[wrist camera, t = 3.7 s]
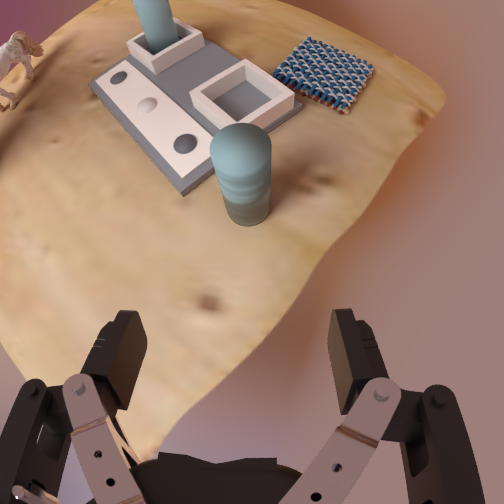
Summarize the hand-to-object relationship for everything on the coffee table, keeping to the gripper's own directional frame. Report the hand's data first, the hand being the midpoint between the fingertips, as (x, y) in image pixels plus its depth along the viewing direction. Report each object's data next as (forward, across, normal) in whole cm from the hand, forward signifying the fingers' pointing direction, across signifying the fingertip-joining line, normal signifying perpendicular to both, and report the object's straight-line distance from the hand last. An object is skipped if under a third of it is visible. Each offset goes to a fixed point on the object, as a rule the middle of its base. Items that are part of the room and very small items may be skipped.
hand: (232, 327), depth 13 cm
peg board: (+29, +8, -9) cm, 31 cm away
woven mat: (+31, -10, -10) cm, 34 cm away
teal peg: (+18, 0, +2) cm, 18 cm away
